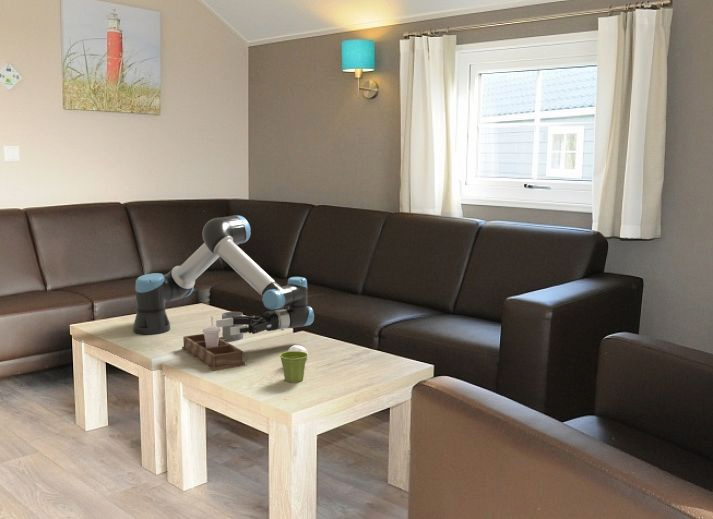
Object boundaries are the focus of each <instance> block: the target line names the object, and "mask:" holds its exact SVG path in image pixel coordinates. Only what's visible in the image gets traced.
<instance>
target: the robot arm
mask: <svg viewBox="0 0 713 519" xmlns="http://www.w3.org/2000/svg"><path fill="white" fill-rule="evenodd" d="M201 236H202V240H203V242H204V243H202V245H200V247H198V249H197V248H196V250H195V251H194V252H193V253H192V254H191V255H190V256H189V257H188V258H187V259H186V260H185V261H184V262H183V263H182V264H181V265H176V266H174V267H172V269H170V270H169V272H168V273H166V274H163V273H160V272H159V273H158V272H156V273H155V272H153V273H146V274H143V275H140V276H138V277H137V278H136V280H135V287H134V288H135V302H136V304H135V305H136V315H135V317H134V318H135V319H134V321H133V326H132V328H133V329H132V330H133V331H134V332H135V334H137V333H138V335H156V334H162V333H166V332H167V333H168V332H169V331H170V330H171V323H170V320H169V318H168V315H167V312H166V303H168V302H173V301H176V300H183V299H186V298H187V297H188V296H190V295H191V294H192V293H193V291H194V288H195V287H194V286H195V284H196V280H197V279H198V278H199V277H200V276H201V275H202V274H203V273H204V272H205V271H206V270H208V268H209V267H210V266H211V265H212V264H214V262H216V261H218V259H219V258H221V259H222V260H223V261H225V263H227V264H228V265H229V266H230V267H231V268H232V269H233V270H234V271H235V272H236V274H238V275H239V276H240V277H241V278H242V279H243V280H244V281H245V282H247V284H249V285H250V287H251V288H253V289H254V290H255V291H256V292H257V293H258V294H259V295H260V296H261V297H262V299H261V300H262V303H263V306H264V308H266V309H268V310H270V311H265V312H264V313H263V315H262V316H258V315H243V316H232V318H228V319H222V318H221V319H216V320H215V321H216V323H215V324H216V325H215V327H219V328H222V327H224V326H231V325H232V326H234V324H239V325H243V326H238V327H230V335H236V334H243V335H244V334H251V333H252V334H253V335H255V334H258V333H261V332H264V331H267V332H273V331H277V330H281V331H284V330H285V329H292V328H298V327H299V328H301V327H306V326H310V325H312V324H313V322H314V320H315V314H314V309H313V308H312V307H311V306H308V281H307V278H305V277H301V276H292V277H289V278H288V279H287V285H283V286H281V284H279V283H278V282H277V281H275V279H274V278H272V276H270V275H269V274H268V273H267V272H266V271H265V270H264V269H263V268H262V267H261V266H260V265H259V264H258V263H257V262H255V261H254V260H253V259H252V258H251V257H250V256H249V255H248V254H247V253H245V251H244V250H243V249H242V248H240V247H239V246H238V245H240V244H241V245H242V244H244V243H246V242H248V240H249V239H250V237H251V226H250V223H249V222H248V220H247V219H246V218H245V217H244V216H242V215H229V216H224V217H214V218H211V219H210V220H208V221H207V222H206V223H205V224H204V226H203V229H202V235H201ZM285 307H288V308H285ZM282 308H284V309H282ZM134 332H133V333H134Z"/></svg>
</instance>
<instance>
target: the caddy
mask: <svg viewBox="0 0 713 519" xmlns="http://www.w3.org/2000/svg"><path fill="white" fill-rule="evenodd" d="M181 348H182V350H183V351H184V352H185V353H187V354H188V355H190V356H191V357H193V358H194V359H196V360H197V361H199V362H200V363H201V364H203V365H205V366H206V367H207V368H209V369H210V370H211V371H218V370H219V371H220V370H224V369H231V368H235V367H243V366H246V362H245V361H244V351H243V350H241V349H240V348H238V347H236V346H234V345H232V344H231V343H229V342H227V340H223V338H221V337H219V342H218V346H217V347H210V348H206V344H205V337H204V333H198V334H193V335H184V336H183V346H181Z"/></svg>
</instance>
